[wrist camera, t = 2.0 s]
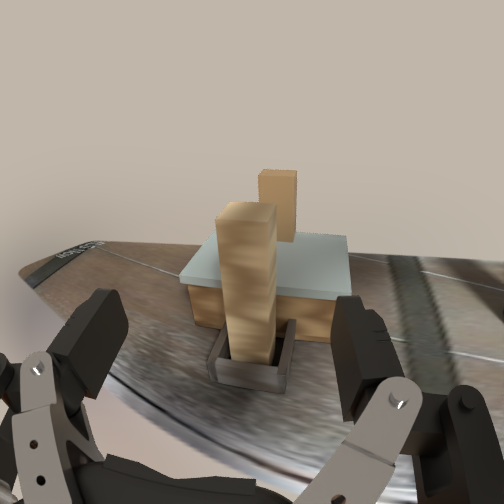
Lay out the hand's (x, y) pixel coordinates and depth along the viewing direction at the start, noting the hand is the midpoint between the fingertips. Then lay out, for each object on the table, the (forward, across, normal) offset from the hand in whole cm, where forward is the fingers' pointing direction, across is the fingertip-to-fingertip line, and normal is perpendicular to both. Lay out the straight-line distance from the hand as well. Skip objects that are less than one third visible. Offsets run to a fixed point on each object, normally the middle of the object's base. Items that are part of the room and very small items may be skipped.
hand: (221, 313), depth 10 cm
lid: (+21, -2, +10) cm, 23 cm away
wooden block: (+11, 0, +16) cm, 20 cm away
